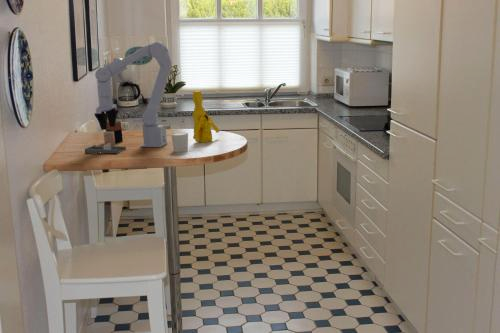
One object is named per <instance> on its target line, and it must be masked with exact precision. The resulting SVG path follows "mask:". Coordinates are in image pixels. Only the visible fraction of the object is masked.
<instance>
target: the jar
mask: <svg viewBox="0 0 500 333" xmlns="http://www.w3.org/2000/svg"><path fill="white" fill-rule="evenodd" d="M103 140H104V145H106V144H108V143H111V146H116V143H115V137H114V131H106V130H105V131H103Z"/></svg>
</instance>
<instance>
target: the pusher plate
mask: <svg viewBox="0 0 500 333" xmlns="http://www.w3.org/2000/svg"><path fill="white" fill-rule="evenodd" d="M102 146H103V148H104V149H105V150H111V143H108V144H106V145H105V144H104V145H102Z"/></svg>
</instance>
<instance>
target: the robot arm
mask: <svg viewBox="0 0 500 333" xmlns="http://www.w3.org/2000/svg"><path fill="white" fill-rule="evenodd" d="M151 56H152V57H153V58H154V59H155V60H156V62H157V63H158V65H159V69H158V72H157V76H156V80H155V82H154V86H153V89H152V92H151V94H150V98H149V101H148V104H147V107H146V110H144V112H143V113H142V115H141V120H142V121H141V122H142V124H141V126H142V138H143V139H142V140H143V144H141V145H140V146H139V147H140V148H143V147H144V148H145V147H146V148H162V147H163V146H166V145H167V144H168V142H167V140H168V139H167V131H166V130H167V129H166V126H165V125H164V124H163V125H161V124H160V122H158V119H159V108H160V105H161V101H162V99H163V95H164V91H165V88H166V86H167V83H168V79H169V75H170V73H171V70H172V68H173V63H172V60H171V56H170V53H169V49H168V48H167V46H166V45H165V44H164V43H163V42H161V41H155V42H153V43H150V44H147V45H145V46H142V47H141V48H139V49H136V51H134V52H132V53H131V54H129V55H127V56H126V57H124V58H121V57H114V58H113V59H112V61H110V62H108V63H105V64H103V67H99V68H98V69H96V71H95V73H94V74H95V75H94V76H95V79H96V80H97V82H96V84H97V98H98V104H99V105H98V106H97V107H96V108H95V113H94V117H95V118H96V119H97V121H98V123H99V127H100V130H102V131H106V129H107V122H109V125H110V127H115V123H116V120H117V118H118V113H119V109H117V104H116V103H115V104H114V100H113V92H112V91H113V89H112V84H111V78H114V77H115V76H118V75H119V74H121V73H123V72H124V71H126V70H127V67H128V65H130V64H132V63H133V62H135V61H138V60H139V59H142V58H144V57H151Z"/></svg>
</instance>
